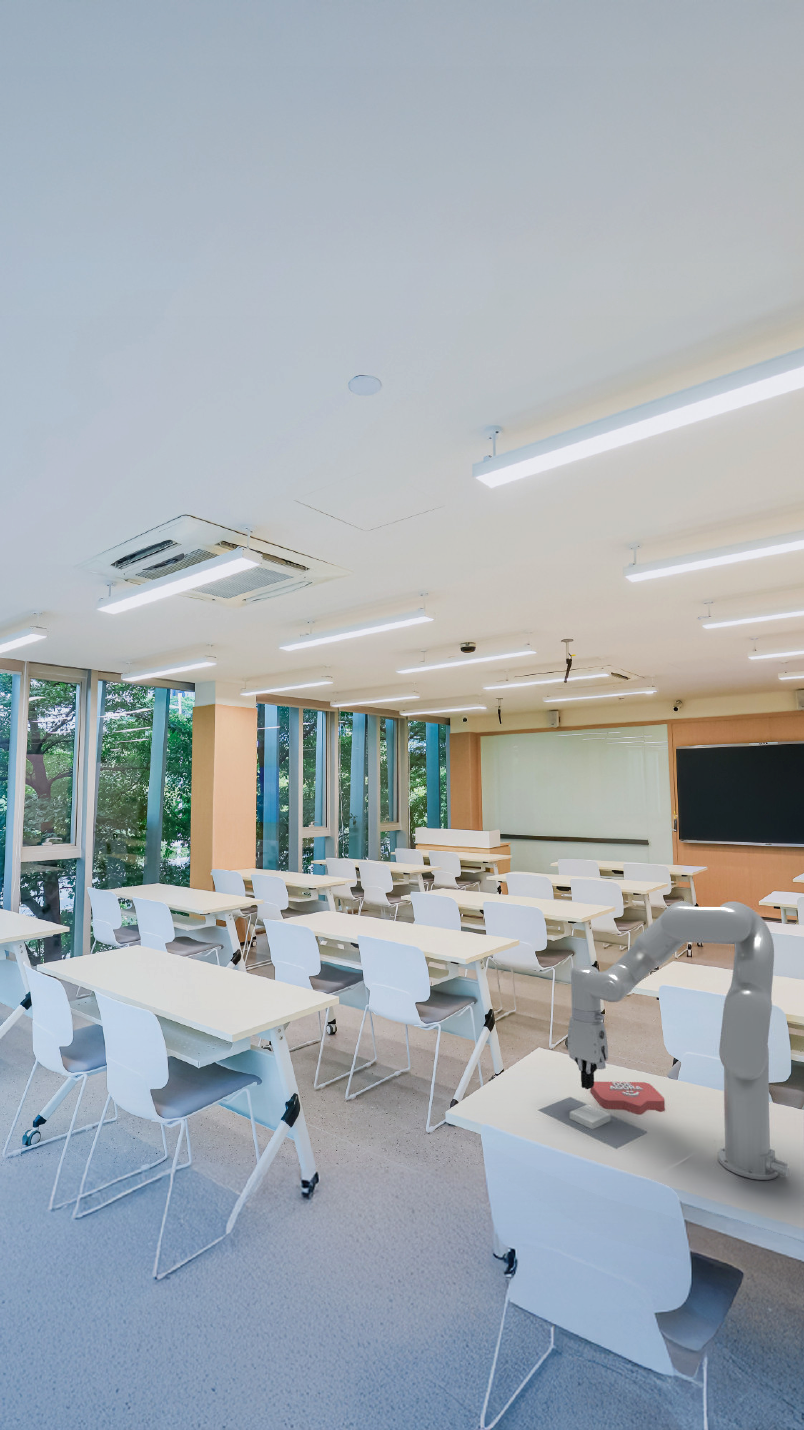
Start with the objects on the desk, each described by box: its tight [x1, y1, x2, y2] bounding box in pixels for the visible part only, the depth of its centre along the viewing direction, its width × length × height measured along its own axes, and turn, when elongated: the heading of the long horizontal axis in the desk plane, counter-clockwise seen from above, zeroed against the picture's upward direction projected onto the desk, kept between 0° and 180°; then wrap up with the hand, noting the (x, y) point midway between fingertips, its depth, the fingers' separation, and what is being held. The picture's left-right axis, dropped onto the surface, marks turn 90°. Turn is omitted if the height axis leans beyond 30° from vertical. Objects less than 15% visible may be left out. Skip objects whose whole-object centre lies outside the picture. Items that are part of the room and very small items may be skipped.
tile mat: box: [538, 1096, 648, 1150], centre depth 176 cm, size 24×14×1 cm, turn 39°
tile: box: [570, 1103, 612, 1129], centre depth 176 cm, size 2×8×7 cm
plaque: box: [590, 1081, 666, 1115], centre depth 188 cm, size 18×4×15 cm
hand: (587, 1087), depth 178 cm, fingers closed
